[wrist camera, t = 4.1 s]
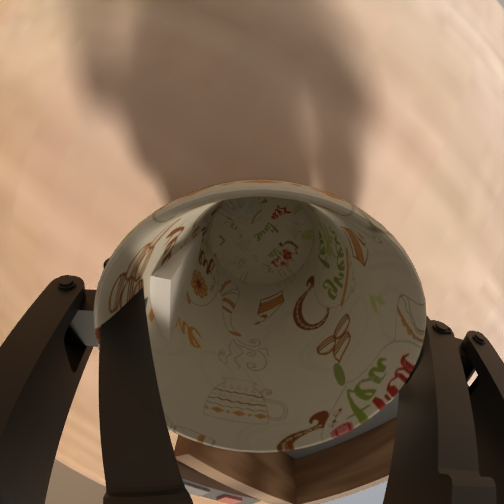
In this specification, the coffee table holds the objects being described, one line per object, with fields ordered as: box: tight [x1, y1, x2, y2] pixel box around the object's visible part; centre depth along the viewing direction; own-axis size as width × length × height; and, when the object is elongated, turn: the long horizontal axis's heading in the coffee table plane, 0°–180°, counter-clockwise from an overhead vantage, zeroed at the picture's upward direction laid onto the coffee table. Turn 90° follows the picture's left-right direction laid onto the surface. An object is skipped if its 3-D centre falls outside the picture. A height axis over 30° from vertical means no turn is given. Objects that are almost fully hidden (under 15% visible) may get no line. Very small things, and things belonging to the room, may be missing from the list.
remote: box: [177, 462, 261, 504], centre depth 26 cm, size 16×4×2 cm, turn 56°
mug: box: [94, 180, 426, 453], centre depth 11 cm, size 8×13×10 cm, turn 55°
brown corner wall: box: [174, 417, 397, 504], centre depth 18 cm, size 16×16×6 cm
